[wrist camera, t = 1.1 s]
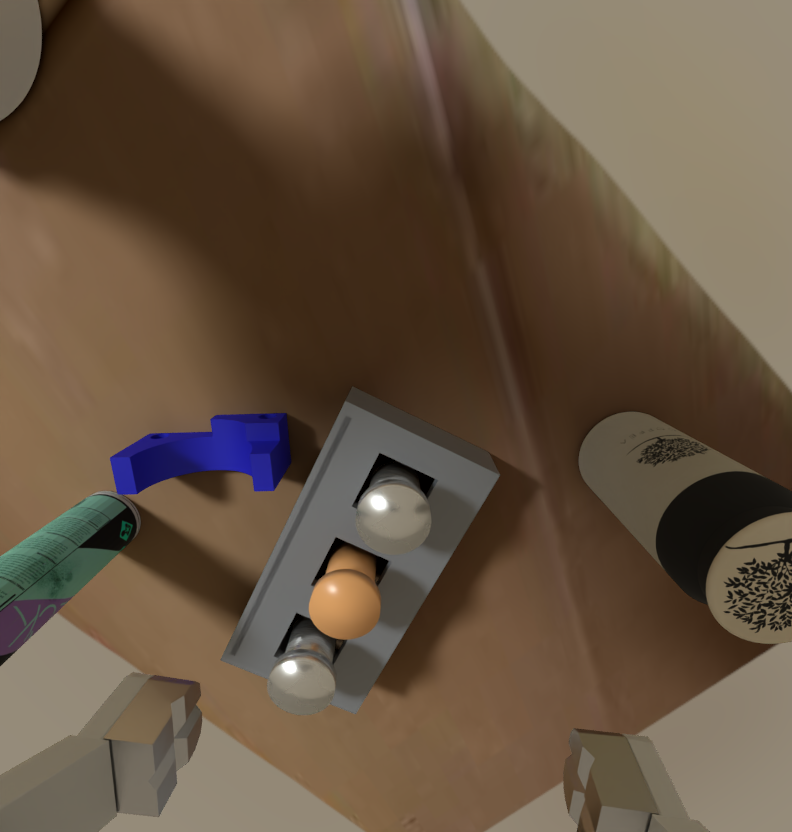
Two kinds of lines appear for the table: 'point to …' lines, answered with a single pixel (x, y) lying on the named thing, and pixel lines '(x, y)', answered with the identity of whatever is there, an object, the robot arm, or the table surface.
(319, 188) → the table surface
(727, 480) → the travel mug
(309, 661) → the far knob
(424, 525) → the near knob
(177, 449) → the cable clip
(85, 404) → the table surface
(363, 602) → the orange knob
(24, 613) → the spray can
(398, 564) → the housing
